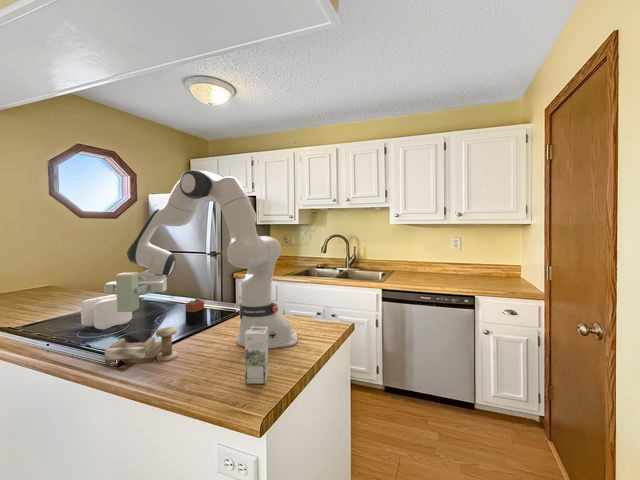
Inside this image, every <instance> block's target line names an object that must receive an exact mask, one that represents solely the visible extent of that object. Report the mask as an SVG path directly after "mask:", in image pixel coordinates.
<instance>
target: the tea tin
mask: <svg viewBox="0 0 640 480" xmlns="http://www.w3.org/2000/svg"><path fill="white" fill-rule="evenodd" d="M138 273H139V271H134V272H133V271H132V272H121V273H117V274H114V275H115V281H116V292H117V294H116V295H117V312H132V313H133V312H135V311H136V310H138V309H139V308H140V298H139V297H140V295H139V293H134V288H136V287H138Z"/></svg>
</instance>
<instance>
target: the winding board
mask: <svg viewBox="0 0 640 480" xmlns="http://www.w3.org/2000/svg"><path fill="white" fill-rule="evenodd" d="M161 352H162V344H161V341H156V337H153V336H151V337H149V338H148V339H147V340H145V341H144V342H143V341H142V342H126V338H119V339H117V341H115V342H114V343H113V344H111V345H110V346H109V347H108V348H106V349H105V350H104V363H105V366H106V365H112V364H111V363H113V362H115V361H116V360H122V361H123V362H124V363H125V364H139V363H140V364H141V363H142V364H143V363H154V362H155V361H157V354H159V353H161Z"/></svg>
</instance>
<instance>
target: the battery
mask: <svg viewBox="0 0 640 480" xmlns="http://www.w3.org/2000/svg"><path fill="white" fill-rule="evenodd" d="M204 321H205V301H204V300H201V298H195V299H194V300H190V301H188V302H186V303H185V324H187V325H190V326H193V325H198V324H199V323H201V322H202V323H203V322H204Z"/></svg>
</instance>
